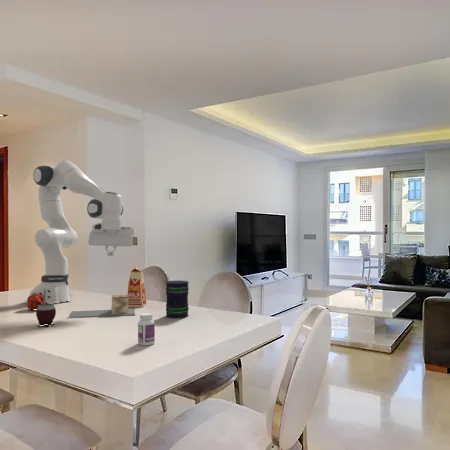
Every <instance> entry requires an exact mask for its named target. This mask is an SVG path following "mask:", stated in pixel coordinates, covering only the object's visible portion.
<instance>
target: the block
mask: <svg viewBox="0 0 450 450" xmlns="http://www.w3.org/2000/svg"><path fill="white" fill-rule="evenodd" d="M128 309H129V307H128V294H115V295H112V296H111V310H112V314H121V313H128Z"/></svg>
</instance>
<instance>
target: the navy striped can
mask: <svg viewBox="0 0 450 450" xmlns="http://www.w3.org/2000/svg"><path fill="white" fill-rule="evenodd" d="M165 282H166V283H165V284H166V286H165V294H166V303H165V313H166V315H165V317H166V318H168V319H185V318H188V317H189V310H190V309H189V293H190V292H189V290H190V288H189V281H188V280H168V281H165Z"/></svg>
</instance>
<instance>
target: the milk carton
mask: <svg viewBox="0 0 450 450" xmlns="http://www.w3.org/2000/svg"><path fill="white" fill-rule="evenodd" d="M127 286H128V287H127V295H128V308H144V307H146V306H147V305H148V303H147V294H146V293H147V291H146V286H145V278H144V273H143V272H142V271H141V270H139V268H138V267H137V266H136V265H134V268H133V269H132V270H131V271H130V274H129V278H128V284H127Z"/></svg>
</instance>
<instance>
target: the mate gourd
mask: <svg viewBox="0 0 450 450" xmlns="http://www.w3.org/2000/svg"><path fill="white" fill-rule="evenodd" d="M45 297H46V289H44V304H43V305H39V306H38V308H37V311H35V315H36V318H37V321H38V322H37V323H38V326H39V325H44V324H48V325H51V323H53V324H54V319H55V317H56V315H57V311H56V307H55V304H45Z"/></svg>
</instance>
